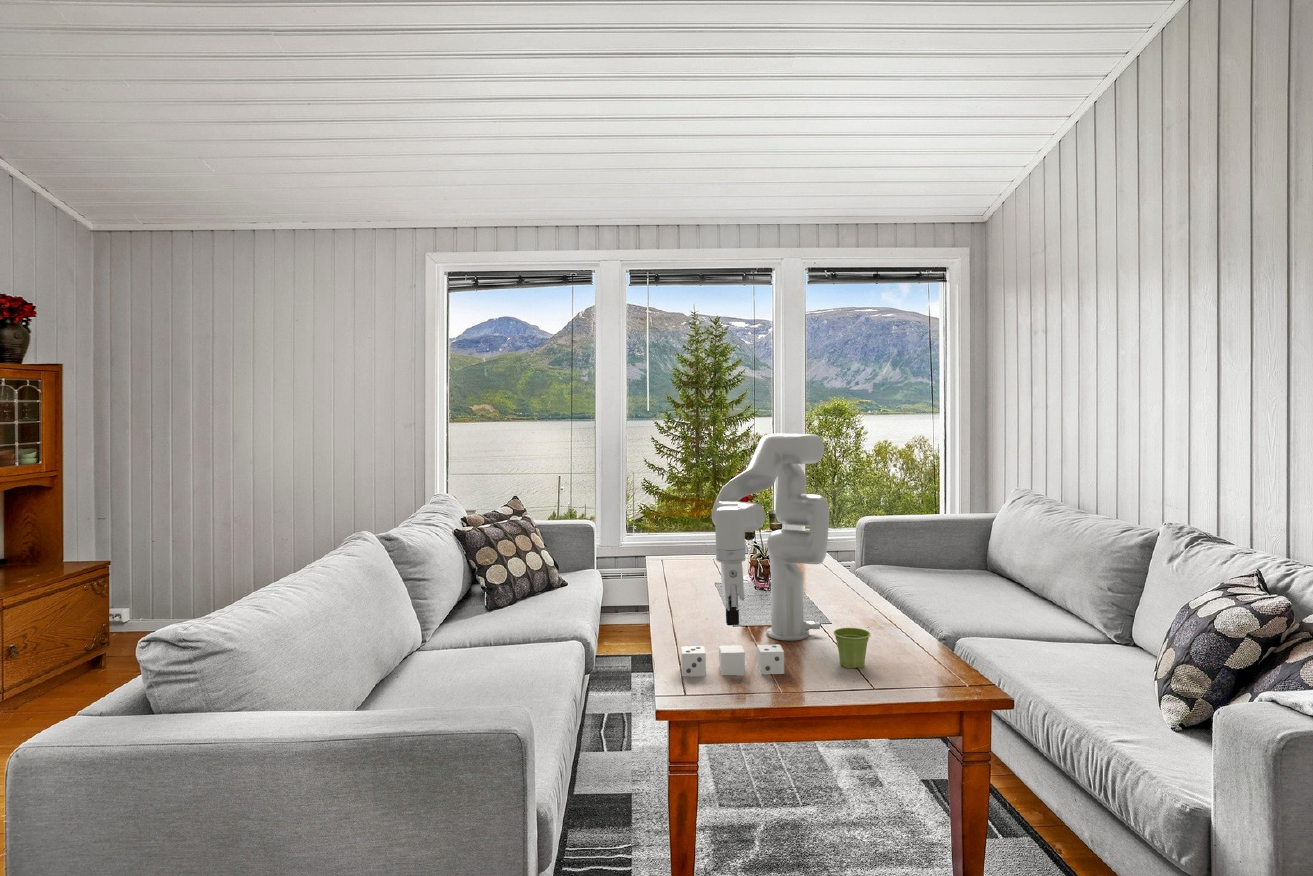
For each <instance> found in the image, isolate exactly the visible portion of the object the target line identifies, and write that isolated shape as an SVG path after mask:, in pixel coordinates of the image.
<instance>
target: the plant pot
mask: <svg viewBox="0 0 1313 876" xmlns="http://www.w3.org/2000/svg"><path fill="white" fill-rule="evenodd" d="M833 636H835V640H836V644H837V650H838V656H839V663H840V665H841V666H842V667H844V668H846V669H856V668H859V669H861V668H864V666H865V662H866V653H867V646H868V642H869V638H870V637H871V632H870V631H868V630H867V629H863V628H859V627H858V628H857V627H841V628H837V629H835V630H833Z"/></svg>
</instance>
